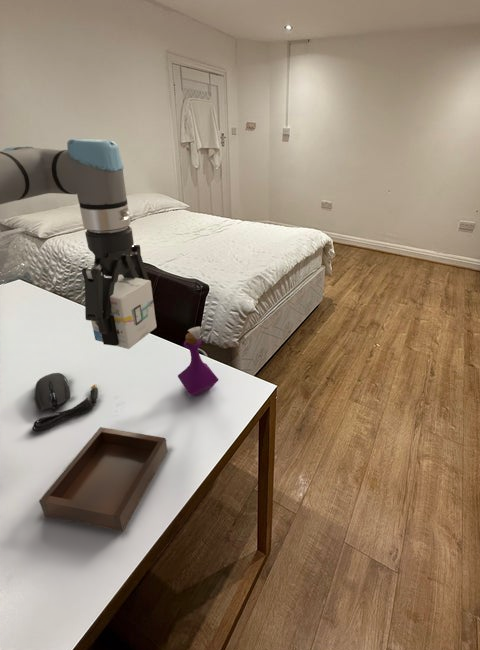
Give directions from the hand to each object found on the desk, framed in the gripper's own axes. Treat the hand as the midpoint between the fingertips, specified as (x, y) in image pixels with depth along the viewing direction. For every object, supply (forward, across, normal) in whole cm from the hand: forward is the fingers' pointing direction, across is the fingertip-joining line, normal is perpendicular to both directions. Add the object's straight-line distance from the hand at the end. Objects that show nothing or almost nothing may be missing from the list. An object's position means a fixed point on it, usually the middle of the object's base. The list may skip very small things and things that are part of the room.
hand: (126, 329), depth 68 cm
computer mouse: (+21, -1, +17) cm, 27 cm away
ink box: (+1, 0, 0) cm, 1 cm away
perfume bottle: (+20, +7, -12) cm, 25 cm away
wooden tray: (+20, -17, -5) cm, 27 cm away
